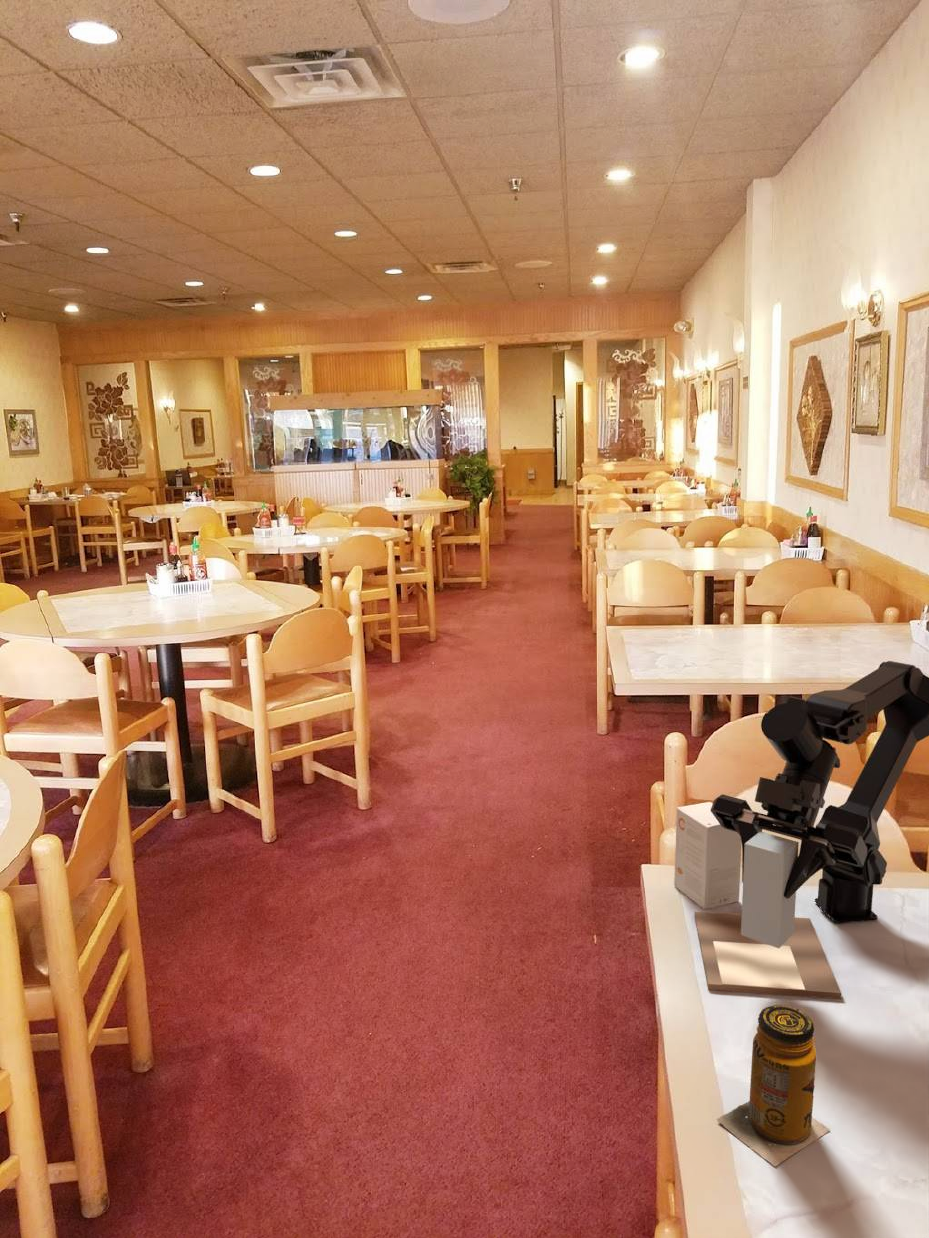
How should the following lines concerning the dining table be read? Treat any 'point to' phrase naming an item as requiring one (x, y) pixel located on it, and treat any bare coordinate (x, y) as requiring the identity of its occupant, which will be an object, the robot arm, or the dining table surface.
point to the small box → (706, 857)
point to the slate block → (768, 889)
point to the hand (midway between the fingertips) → (764, 890)
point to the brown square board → (763, 959)
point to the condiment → (779, 1087)
